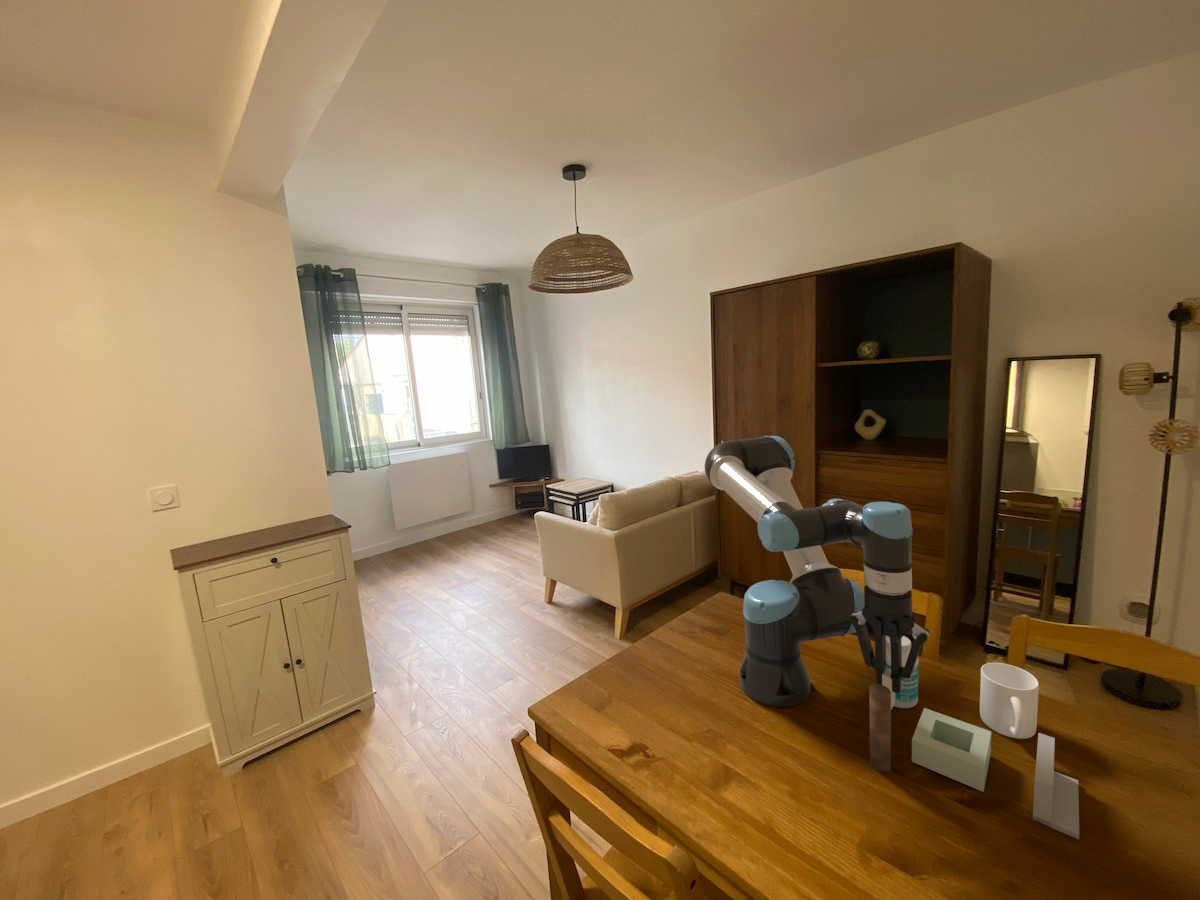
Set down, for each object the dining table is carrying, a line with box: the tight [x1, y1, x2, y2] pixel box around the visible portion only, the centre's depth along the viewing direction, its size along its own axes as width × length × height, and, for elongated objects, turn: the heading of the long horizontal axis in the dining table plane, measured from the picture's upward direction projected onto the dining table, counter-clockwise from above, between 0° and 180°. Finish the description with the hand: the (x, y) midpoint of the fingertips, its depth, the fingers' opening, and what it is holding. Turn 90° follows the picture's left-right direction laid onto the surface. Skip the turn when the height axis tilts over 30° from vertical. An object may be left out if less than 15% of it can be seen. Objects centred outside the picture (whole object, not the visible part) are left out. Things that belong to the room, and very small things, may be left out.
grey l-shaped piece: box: [1032, 732, 1080, 840], centre depth 75 cm, size 5×12×7 cm, turn 136°
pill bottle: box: [885, 635, 920, 709], centre depth 100 cm, size 8×7×14 cm
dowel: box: [868, 683, 892, 775], centre depth 83 cm, size 3×3×15 cm
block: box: [911, 707, 992, 793], centre depth 84 cm, size 10×10×4 cm
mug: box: [979, 662, 1040, 740], centre depth 89 cm, size 12×8×10 cm
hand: (888, 704), depth 90 cm, fingers closed
